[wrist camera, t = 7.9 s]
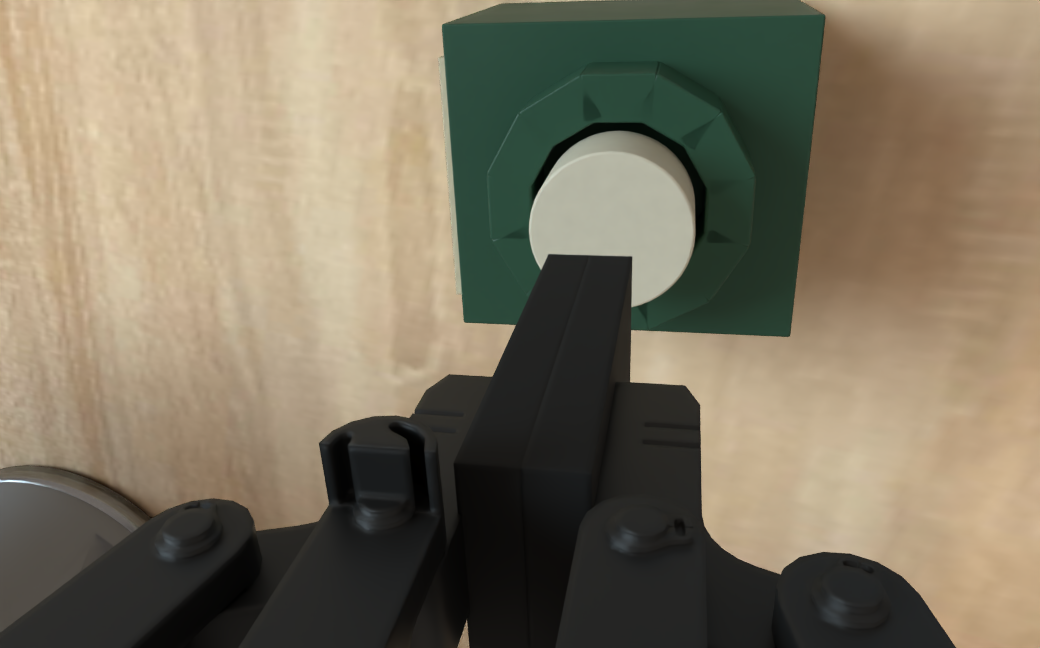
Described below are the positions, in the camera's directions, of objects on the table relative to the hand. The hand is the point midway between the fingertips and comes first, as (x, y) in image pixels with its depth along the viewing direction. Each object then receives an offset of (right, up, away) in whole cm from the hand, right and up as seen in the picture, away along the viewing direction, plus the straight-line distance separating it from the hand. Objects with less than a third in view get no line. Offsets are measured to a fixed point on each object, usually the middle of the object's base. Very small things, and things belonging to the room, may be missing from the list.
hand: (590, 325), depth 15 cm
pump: (+1, +3, +7) cm, 8 cm away
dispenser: (+3, +7, +15) cm, 17 cm away
